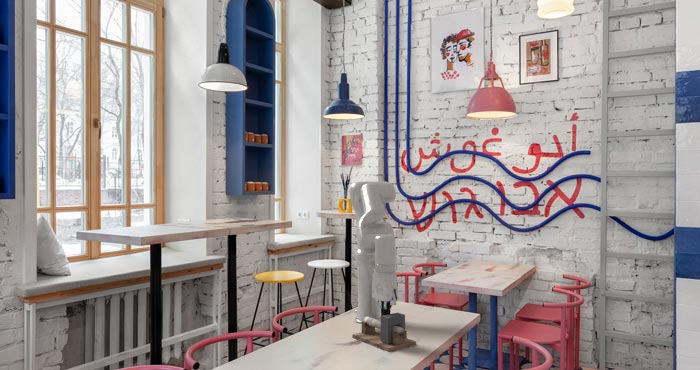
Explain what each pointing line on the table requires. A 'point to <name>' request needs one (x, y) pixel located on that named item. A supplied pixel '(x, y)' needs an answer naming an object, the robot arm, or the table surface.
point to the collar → (390, 321)
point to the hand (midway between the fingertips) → (385, 319)
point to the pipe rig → (374, 335)
